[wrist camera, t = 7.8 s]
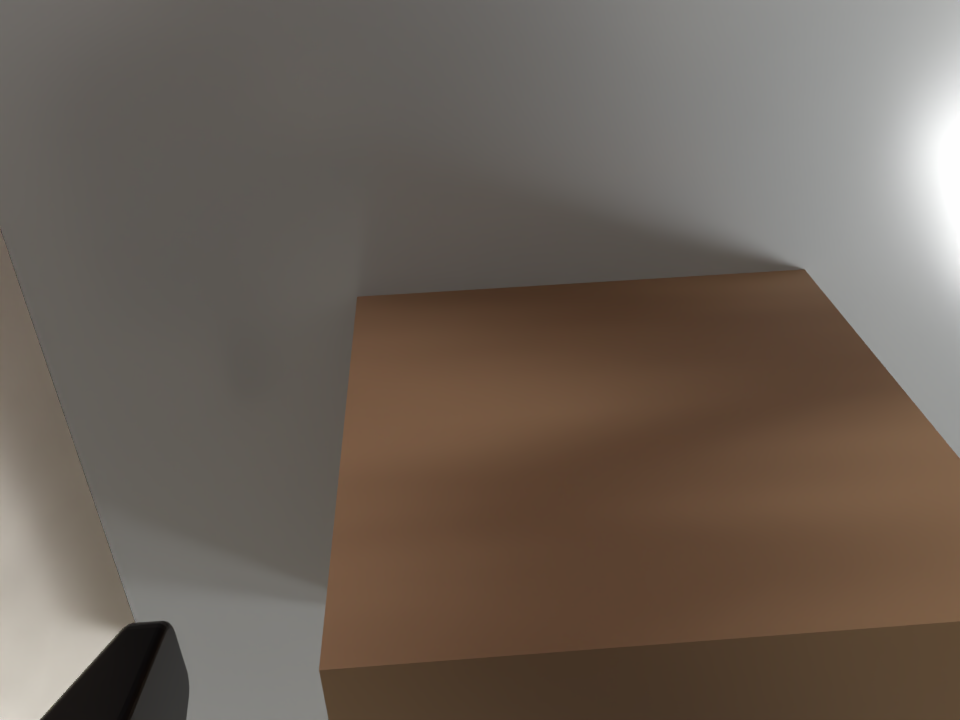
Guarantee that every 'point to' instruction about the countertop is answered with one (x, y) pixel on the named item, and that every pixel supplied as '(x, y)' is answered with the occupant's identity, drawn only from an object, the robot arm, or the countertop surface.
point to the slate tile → (422, 234)
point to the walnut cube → (637, 511)
